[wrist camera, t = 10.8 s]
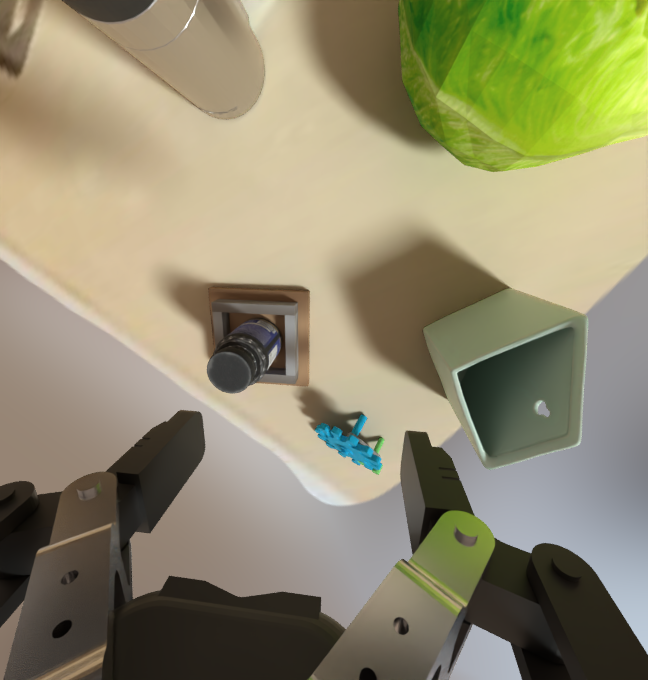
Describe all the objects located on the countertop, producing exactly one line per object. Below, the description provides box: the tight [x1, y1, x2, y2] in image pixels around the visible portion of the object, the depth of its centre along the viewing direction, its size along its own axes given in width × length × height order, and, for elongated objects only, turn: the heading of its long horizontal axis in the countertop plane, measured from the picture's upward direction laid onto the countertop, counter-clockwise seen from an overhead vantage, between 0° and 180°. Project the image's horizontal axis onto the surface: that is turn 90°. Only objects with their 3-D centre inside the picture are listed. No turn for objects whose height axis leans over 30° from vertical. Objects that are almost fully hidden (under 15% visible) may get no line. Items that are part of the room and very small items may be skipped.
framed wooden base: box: [208, 287, 310, 386], centre depth 42 cm, size 13×13×3 cm
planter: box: [423, 288, 588, 470], centre depth 31 cm, size 16×8×20 cm, turn 161°
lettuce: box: [398, 0, 648, 172], centre depth 24 cm, size 19×25×17 cm
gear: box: [315, 415, 384, 475], centre depth 44 cm, size 11×6×10 cm
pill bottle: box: [207, 318, 282, 393], centre depth 37 cm, size 6×6×11 cm
